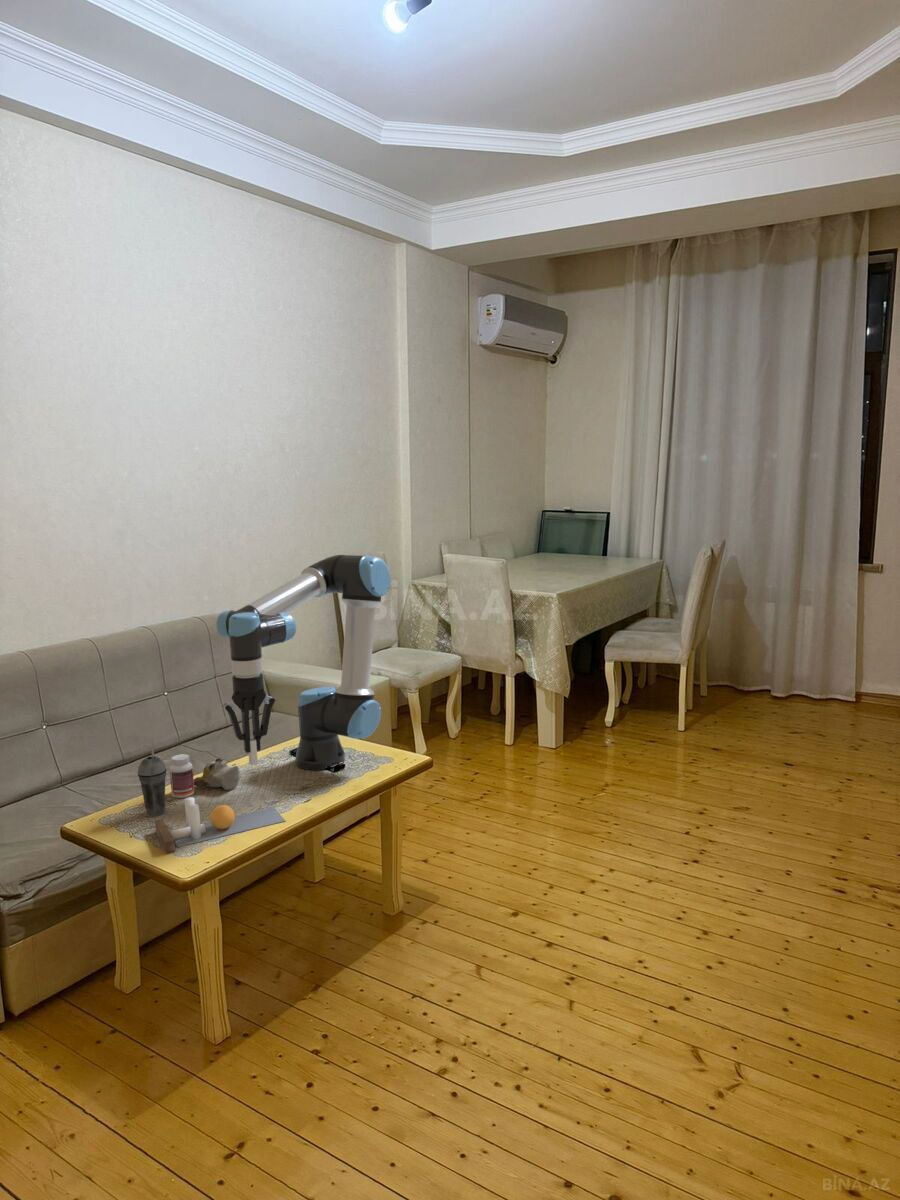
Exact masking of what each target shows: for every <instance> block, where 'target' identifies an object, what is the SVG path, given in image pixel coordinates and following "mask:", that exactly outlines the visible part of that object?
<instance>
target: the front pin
mask: <svg viewBox="0 0 900 1200" xmlns="http://www.w3.org/2000/svg"><path fill="white" fill-rule="evenodd" d="M204 823H205V822H203V824H202V823H200V826H201V834H202V833H206V829H205V824H204ZM169 831H170V833H171V835H172V837H173V839H174V840H176V839H180V838H185V837H189V836H191V829H190V827H187V826H185V827H182V828H177V829H172V830H169Z"/></svg>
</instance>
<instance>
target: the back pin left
mask: <svg viewBox="0 0 900 1200" xmlns="http://www.w3.org/2000/svg"><path fill="white" fill-rule="evenodd" d="M200 814H201V813H200V805H199V804H198V803H195V804H192V805H190V806H189V817H190V829H191V839H192V840H198V839H200V838H201V826H200V824H201V817H200V816H201V815H200Z"/></svg>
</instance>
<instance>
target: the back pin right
mask: <svg viewBox="0 0 900 1200" xmlns="http://www.w3.org/2000/svg"><path fill="white" fill-rule="evenodd" d="M192 804H196V800H195V797H192V796H188V797H185V798H184V809H185V821H186V827H190V817H189V806H190V805H192Z"/></svg>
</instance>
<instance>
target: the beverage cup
mask: <svg viewBox="0 0 900 1200" xmlns="http://www.w3.org/2000/svg"><path fill="white" fill-rule="evenodd" d="M154 743H155V740H154V739H151V755H150V756H148V757H145V758H144V759H143V760H142V761H141V762H140V763H139V765H138V768H137V776H138V780H139V782H140V786H141V791H142V793H141V794H142V797H143V803H144V807H145V808H144V809H145V812H146V816H148V817H157V816H161V815H163V814H165V813H166V812H165V809H166V808H165V807H166V778H167V777H166V776H167V768H166V764H165V762H164V761H163V760H162V758H160V757H157V756H154V755H155V751H154V749H155V748H154V745H155V744H154Z"/></svg>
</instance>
